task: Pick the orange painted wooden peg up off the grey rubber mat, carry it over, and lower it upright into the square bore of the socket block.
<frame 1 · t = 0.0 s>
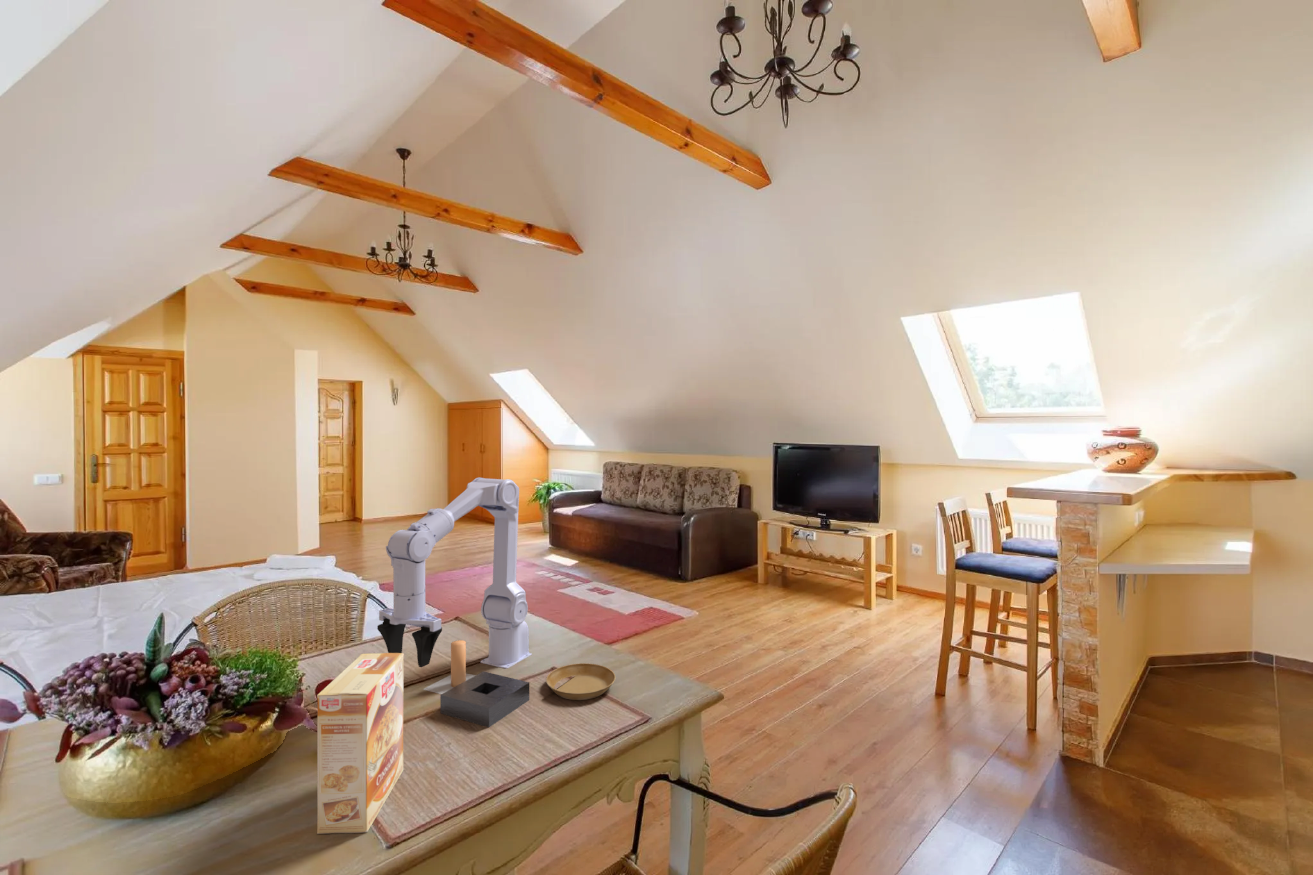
hand: (409, 661, 115), 10 cm above the table, tool pointing down, fingers open, 7 cm apart
socket block: (486, 708, 117), on the table
peg: (458, 684, 127), resting on mat
mat: (458, 686, 127), on the table
coffeecake box: (364, 801, 89), on the table
plant saucer: (581, 690, 126), on the table
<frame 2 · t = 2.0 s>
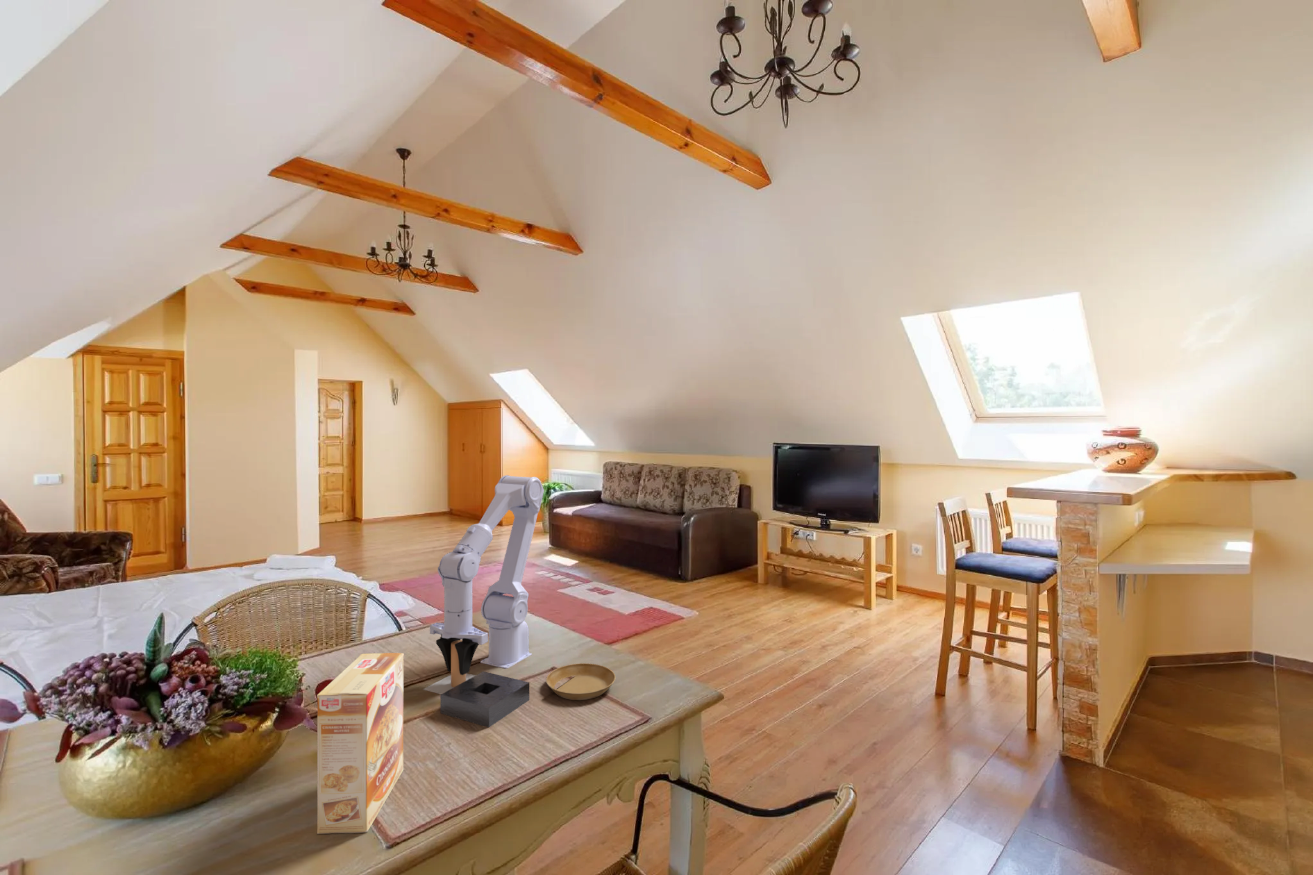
hand: (458, 671, 126), 3 cm above the table, tool pointing down, fingers closed on peg, 3 cm apart
peg: (458, 684, 127), resting on mat, touching gripper
everything else where it was.
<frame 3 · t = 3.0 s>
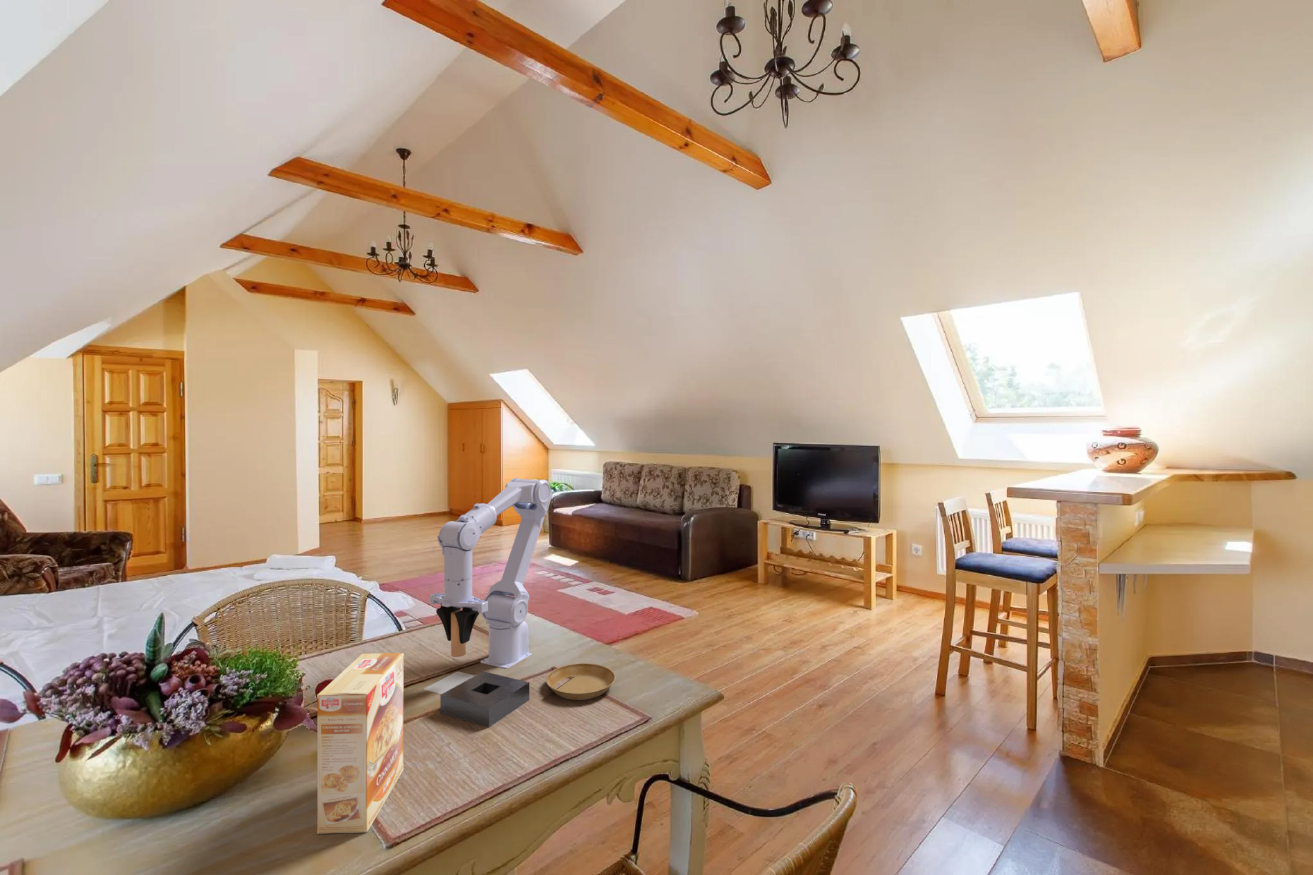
hand: (458, 640, 126), 10 cm above the table, tool pointing down, fingers closed on peg, 3 cm apart
peg: (458, 654, 126), point 7 cm above the table, touching gripper
everything else where it was.
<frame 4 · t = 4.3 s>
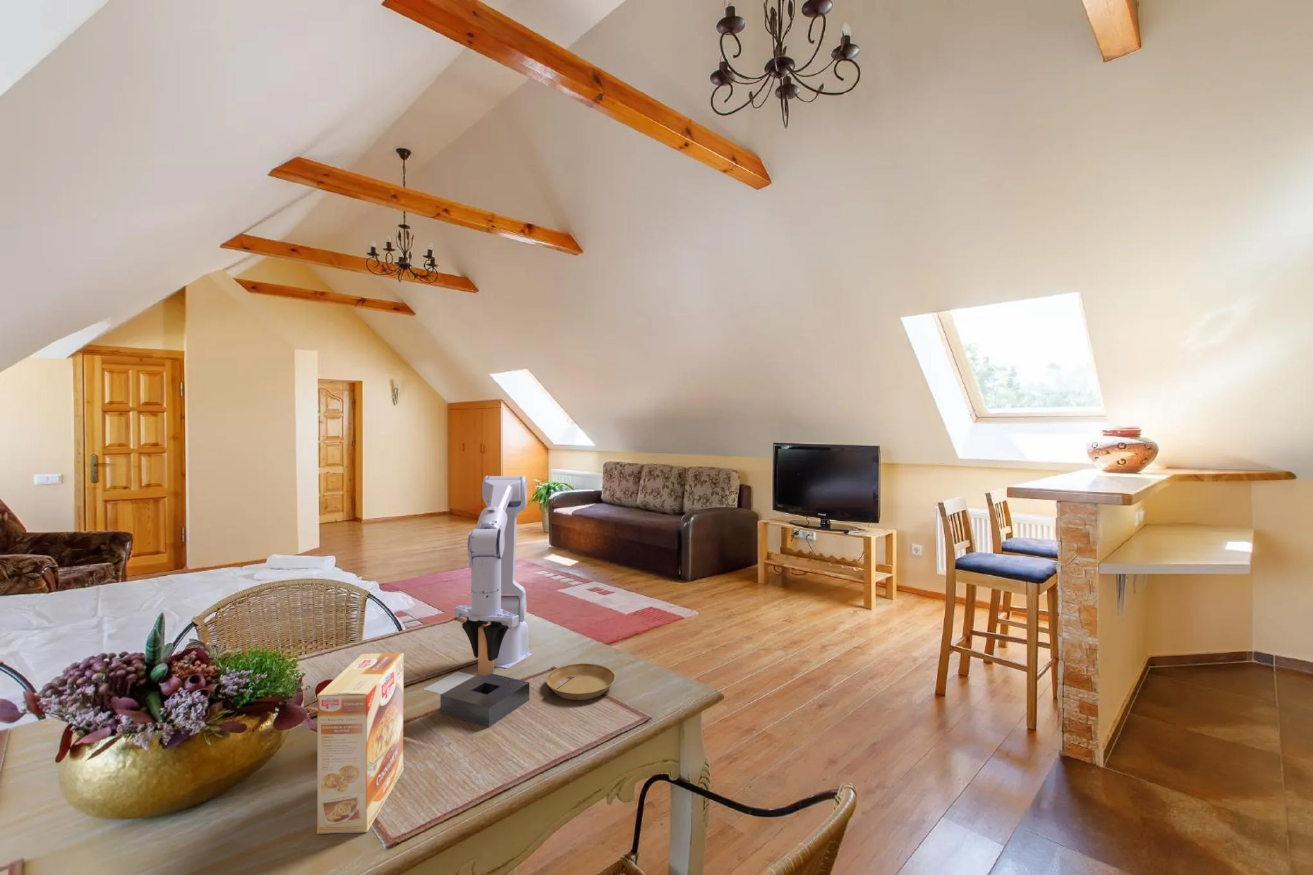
hand: (486, 657, 117), 10 cm above the table, tool pointing down, fingers closed on peg, 3 cm apart
peg: (486, 671, 117), point 7 cm above the table, touching gripper
everything else where it was.
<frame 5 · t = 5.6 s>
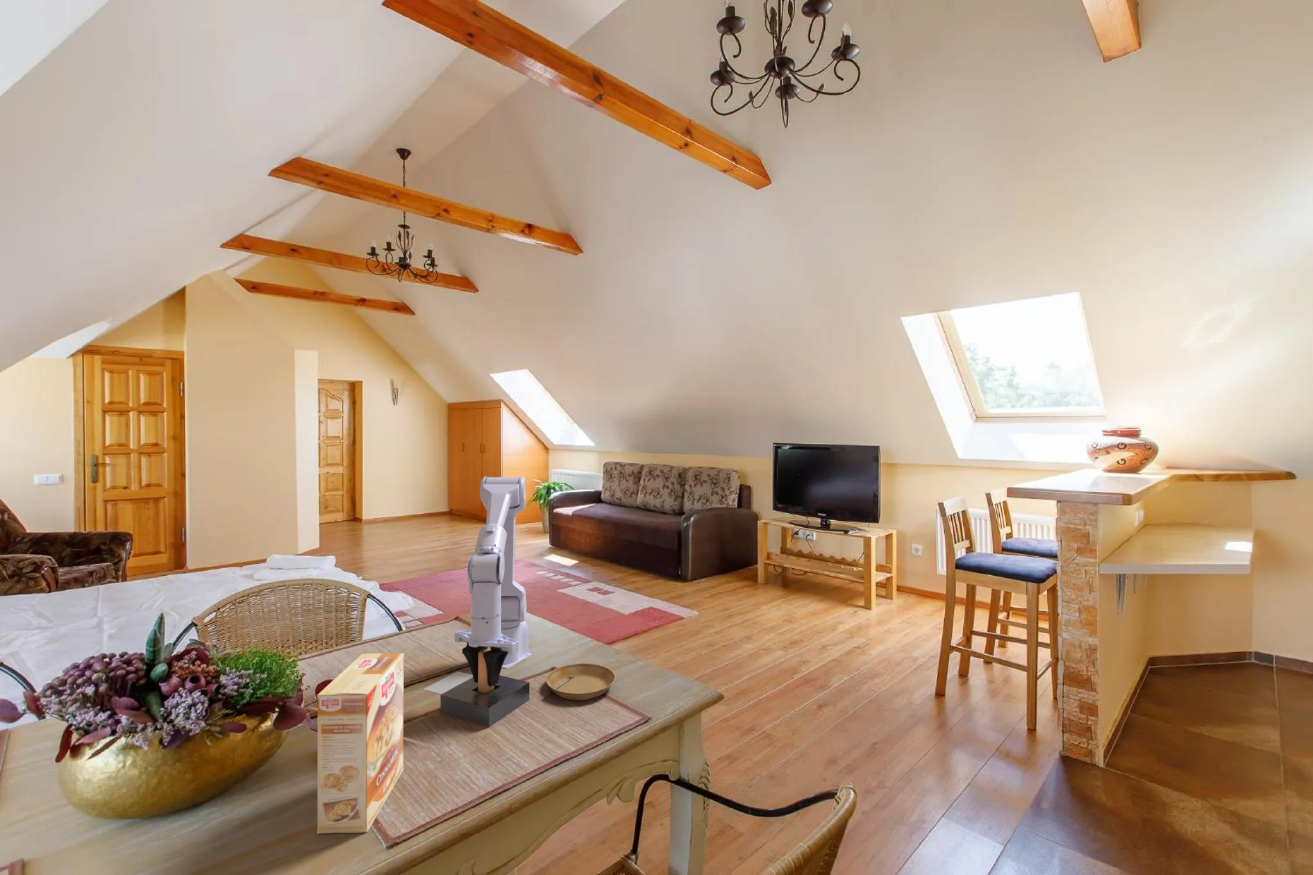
hand: (486, 682, 117), 5 cm above the table, tool pointing down, fingers closed on peg, 3 cm apart
peg: (486, 696, 117), point 2 cm above the table, touching gripper
everything else where it was.
when the fingers open (5 cm above the table, at t = 6.4 s): peg drops 2 cm, resting in socket block.
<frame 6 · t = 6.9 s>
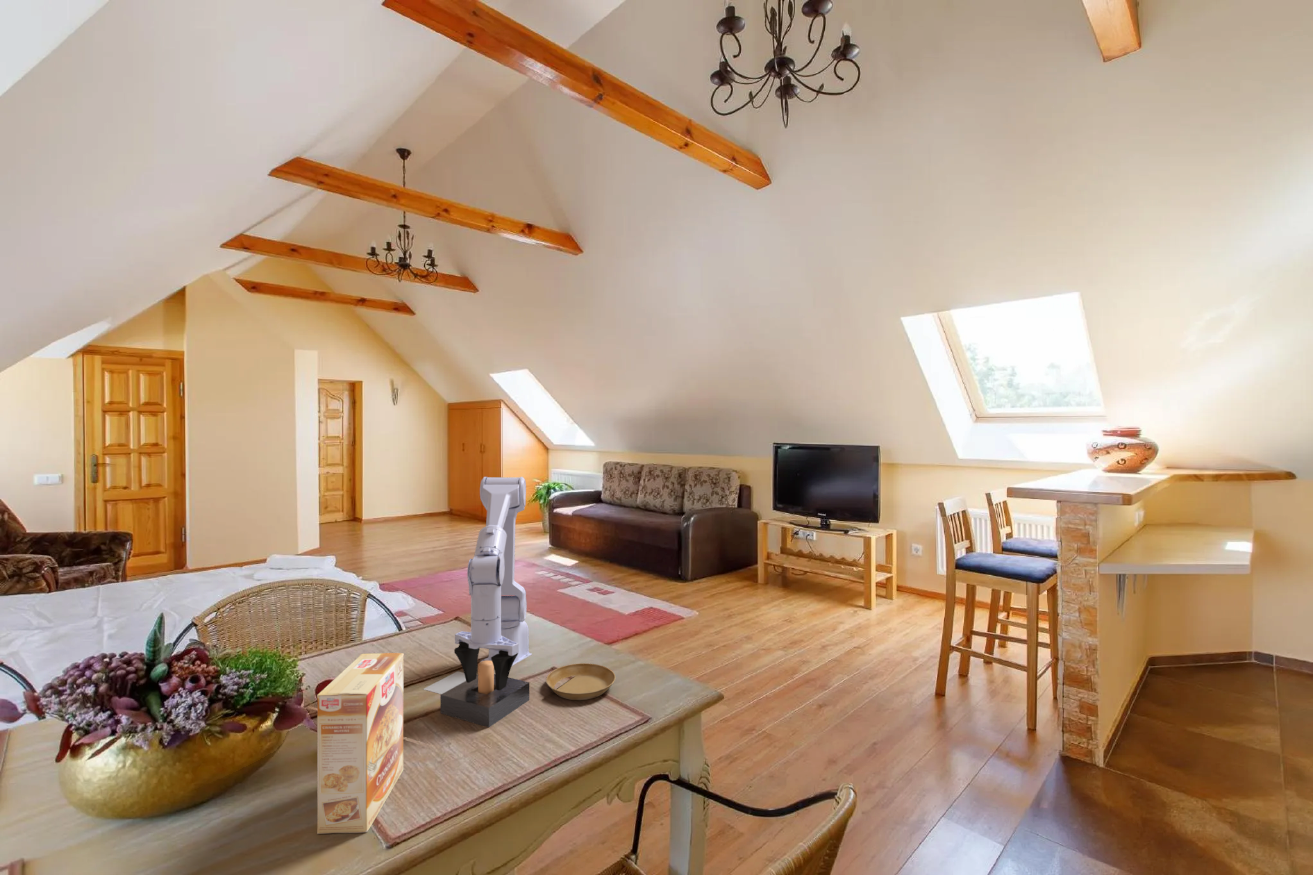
hand: (486, 684, 117), 5 cm above the table, tool pointing down, fingers open, 7 cm apart
peg: (485, 708, 117), resting in socket block
everything else where it was.
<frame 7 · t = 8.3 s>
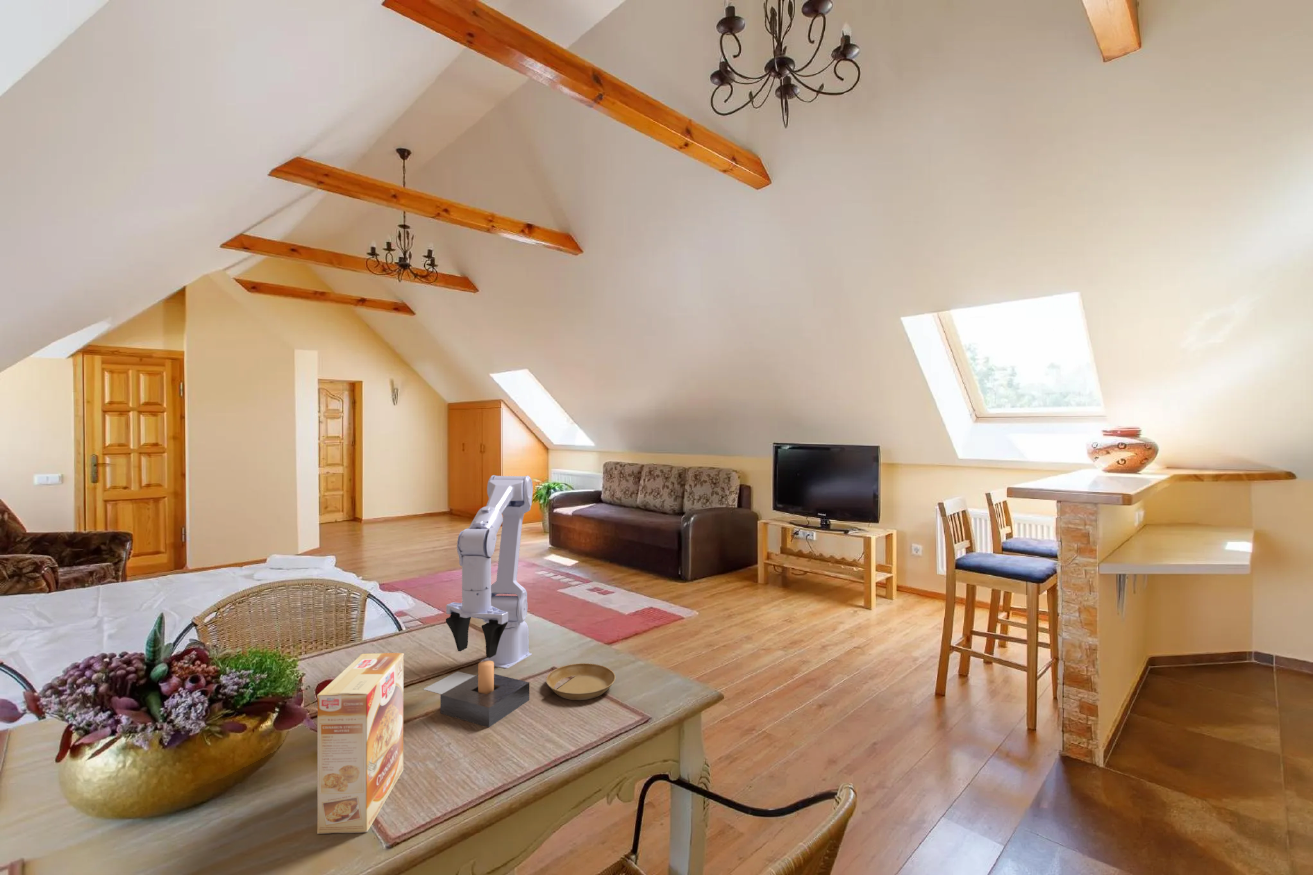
hand: (476, 652, 121), 9 cm above the table, tool pointing down, fingers open, 7 cm apart
nothing on the table moved.
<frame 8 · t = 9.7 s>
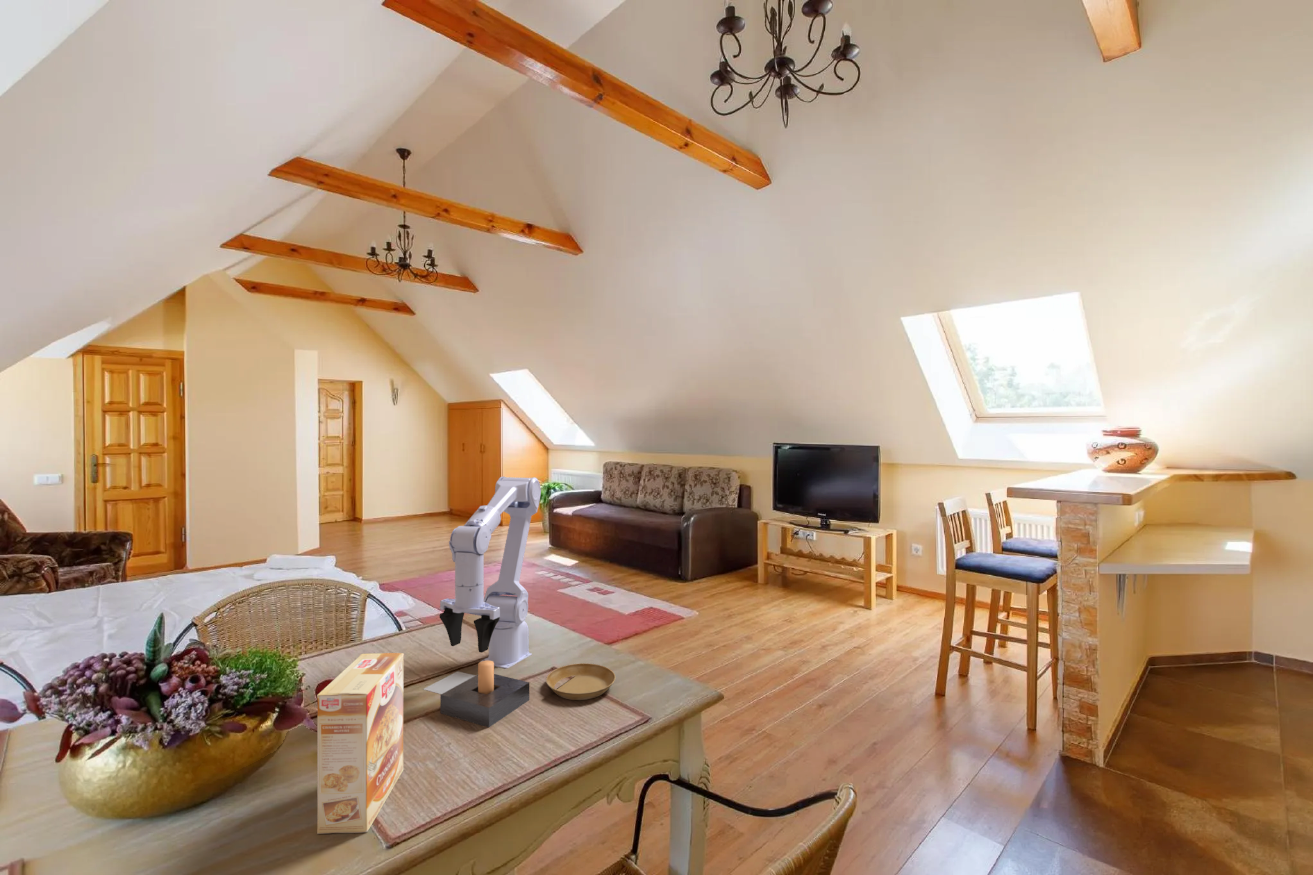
hand: (469, 647, 124), 9 cm above the table, tool pointing down, fingers open, 7 cm apart
nothing on the table moved.
at the end: peg 0.0 cm off-centre on the socket block, point 0.0 cm above the socket block's base; peg tilted 0°; the gripper is holding nothing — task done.
